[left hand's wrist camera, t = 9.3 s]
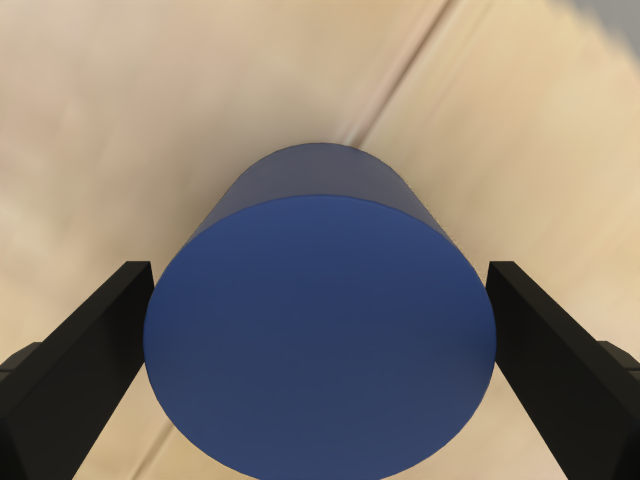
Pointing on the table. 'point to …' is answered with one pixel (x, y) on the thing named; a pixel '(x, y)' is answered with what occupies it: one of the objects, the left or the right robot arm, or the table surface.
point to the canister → (319, 324)
